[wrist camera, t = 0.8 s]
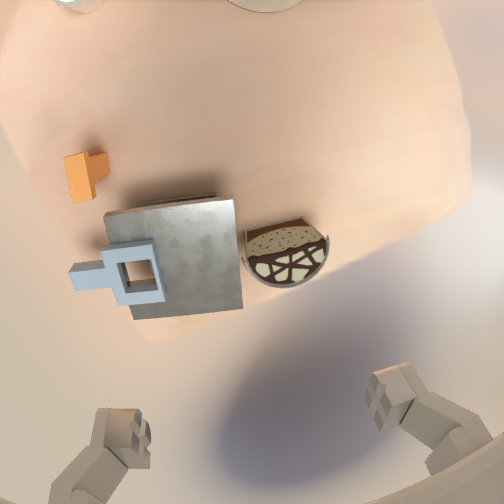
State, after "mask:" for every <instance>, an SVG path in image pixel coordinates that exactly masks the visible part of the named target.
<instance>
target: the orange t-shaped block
mask: <svg viewBox="0 0 504 504" xmlns="http://www.w3.org/2000/svg"><path fill="white" fill-rule="evenodd" d="M63 160H64V165H65V170H66V175H67V180H68V185H69V189H70V194H71V198H72V202H73V203H77V202H82V201H87V200H92V199H94V198H95V197H96V191H95V187H94V184H96V183H97V182H98V181H99V180H100V179H102V178H103V177H104V176H105V175H106V174H108V173H109V167H108V161H107V155H106V153H102V154H98V155H93V156H89V155H88V151H86V152H82V153H78V154H74V155H70V156H67V157H65V158H63Z"/></svg>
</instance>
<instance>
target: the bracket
mask: <svg viewBox="0 0 504 504" xmlns="http://www.w3.org/2000/svg"><path fill="white" fill-rule="evenodd" d="M100 253H101V256H102V259H103V260H96V261H89V262H81V263H74V265H73V266H72V268H71V269H70V271H69V272H68V273H69V276H70V279H71V281H72V284H73V287H74V289H75V291H82V290H93V289H103V288H112V290H113V293H114V296H115V299H116V302H117V305H118V306H124V305H135V304H146V303H157V302H165V301H166V291H165V287H164V283H163V279H162V275H161V271H160V267H159V262H158V258H157V253H156V249H155V244H154V240H153V239H150V240H142V241H134V242H127V243H119V244H112V245H105V246H103V247H102V249H101V251H100ZM146 259H151V262H152V266H153V270H154V274H155V278H156V282H157V284H153V285H144V286H134V287H128V286H127V283H126V280H125V277H124V273H123V270H122V266H121V262H130V261H138V260H146Z"/></svg>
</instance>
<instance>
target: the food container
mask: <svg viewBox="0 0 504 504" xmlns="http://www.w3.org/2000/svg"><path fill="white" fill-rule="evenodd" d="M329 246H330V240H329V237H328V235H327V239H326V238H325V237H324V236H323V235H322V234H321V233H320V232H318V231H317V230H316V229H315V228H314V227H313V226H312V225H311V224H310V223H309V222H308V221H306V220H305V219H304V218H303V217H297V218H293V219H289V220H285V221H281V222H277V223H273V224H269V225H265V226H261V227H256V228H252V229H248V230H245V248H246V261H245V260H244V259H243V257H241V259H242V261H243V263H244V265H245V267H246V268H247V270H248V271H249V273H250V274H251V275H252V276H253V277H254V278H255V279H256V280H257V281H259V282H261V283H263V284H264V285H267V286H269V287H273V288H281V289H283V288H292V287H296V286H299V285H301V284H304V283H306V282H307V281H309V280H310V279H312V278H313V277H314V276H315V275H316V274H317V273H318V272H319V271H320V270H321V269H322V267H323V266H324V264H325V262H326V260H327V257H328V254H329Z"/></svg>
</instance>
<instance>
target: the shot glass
mask: <svg viewBox="0 0 504 504" xmlns="http://www.w3.org/2000/svg"><path fill="white" fill-rule="evenodd" d="M53 1H54V2H55V3H56V4H57V5H59V6H63V7H66V8H69V9H72V10H75V11H78V12H81V13H91V12H93V11H95V10H97V9H99V8H100V7H101V6H102V5H103V4H104V3H105V2H106V0H53Z"/></svg>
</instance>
